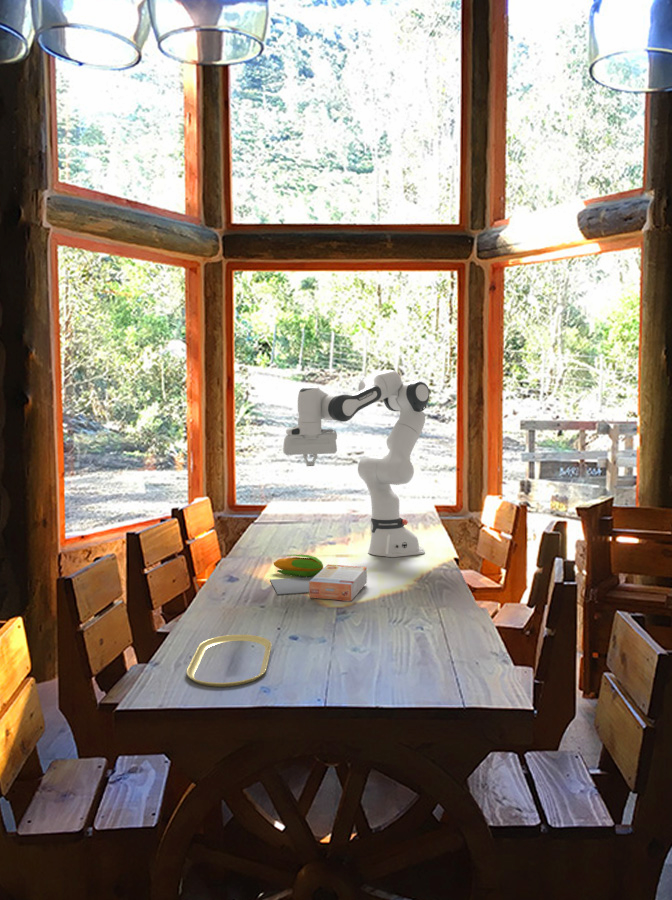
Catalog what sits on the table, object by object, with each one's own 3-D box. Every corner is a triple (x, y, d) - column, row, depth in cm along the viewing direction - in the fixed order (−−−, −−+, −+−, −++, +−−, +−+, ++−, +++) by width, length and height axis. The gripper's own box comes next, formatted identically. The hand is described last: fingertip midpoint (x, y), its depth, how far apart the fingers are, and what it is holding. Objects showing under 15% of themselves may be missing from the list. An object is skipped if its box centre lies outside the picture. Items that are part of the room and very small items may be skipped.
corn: (317, 558, 277) (267, 553, 286) (317, 579, 278) (267, 574, 286) (327, 555, 284) (278, 551, 293) (326, 576, 284) (277, 571, 293)
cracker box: (327, 580, 273) (308, 598, 253) (327, 563, 272) (308, 579, 252) (367, 584, 269) (351, 602, 249) (367, 566, 268) (351, 583, 248)
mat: (332, 576, 282) (332, 575, 282) (344, 590, 262) (344, 589, 262) (270, 580, 277) (270, 579, 277) (277, 595, 258) (277, 593, 258)
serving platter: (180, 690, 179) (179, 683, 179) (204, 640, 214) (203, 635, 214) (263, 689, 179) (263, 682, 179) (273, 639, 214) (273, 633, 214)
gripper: (335, 428, 306) (335, 464, 307) (282, 429, 302) (282, 466, 303) (338, 429, 300) (338, 466, 301) (284, 430, 296) (285, 467, 297)
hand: (310, 466), depth 302 cm, fingers closed
